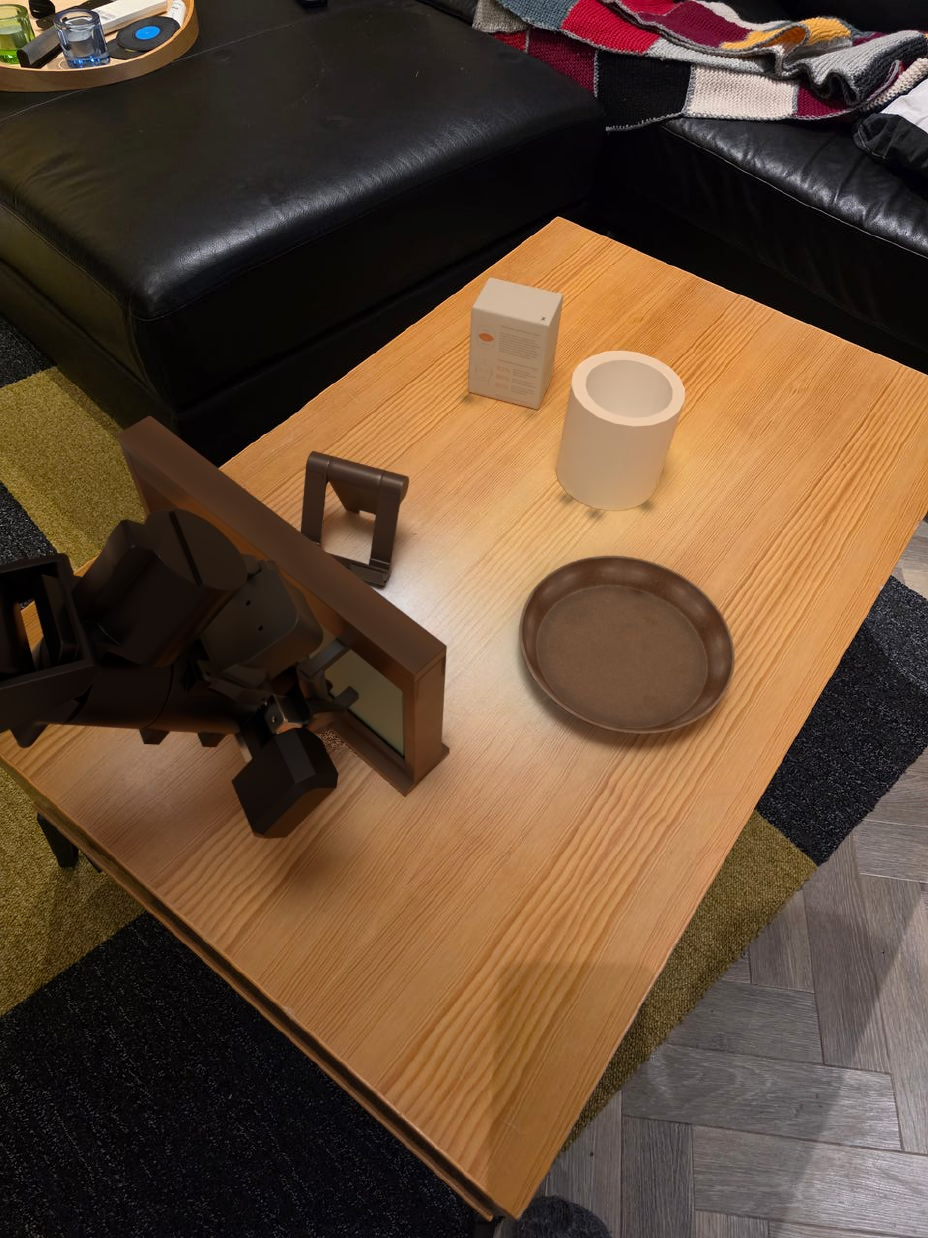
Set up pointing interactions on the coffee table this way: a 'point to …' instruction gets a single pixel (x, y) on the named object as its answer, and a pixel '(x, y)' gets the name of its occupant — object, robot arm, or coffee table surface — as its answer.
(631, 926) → the coffee table surface
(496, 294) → the small box
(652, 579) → the plant saucer
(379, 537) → the tablet stand
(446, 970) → the coffee table surface
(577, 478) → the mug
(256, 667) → the robot arm
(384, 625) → the door frame
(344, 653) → the door
